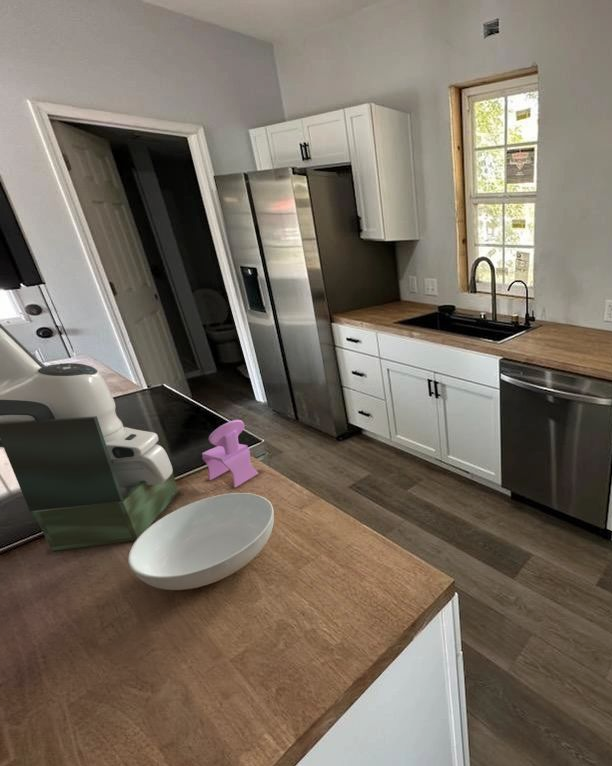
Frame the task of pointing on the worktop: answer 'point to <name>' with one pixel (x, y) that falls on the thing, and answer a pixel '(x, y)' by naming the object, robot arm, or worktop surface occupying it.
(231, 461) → the toy chair
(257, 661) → the worktop surface
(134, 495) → the box
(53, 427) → the green box lid
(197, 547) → the serving bowl
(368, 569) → the worktop surface
